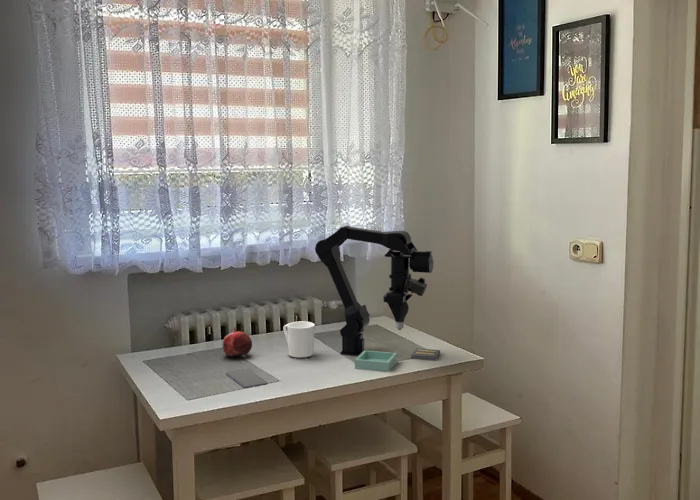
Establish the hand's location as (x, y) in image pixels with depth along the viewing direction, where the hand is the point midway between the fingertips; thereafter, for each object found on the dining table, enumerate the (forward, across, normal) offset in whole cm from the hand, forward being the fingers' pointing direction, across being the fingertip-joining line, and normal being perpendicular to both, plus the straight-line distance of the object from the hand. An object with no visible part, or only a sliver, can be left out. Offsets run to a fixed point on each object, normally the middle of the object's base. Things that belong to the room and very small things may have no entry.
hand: (399, 319), depth 235 cm
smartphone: (+13, -34, +38) cm, 53 cm away
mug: (+13, -7, +32) cm, 35 cm away
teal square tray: (+13, -10, +5) cm, 17 cm away
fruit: (+13, -14, +51) cm, 54 cm away
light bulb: (+4, 0, 0) cm, 4 cm away
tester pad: (+13, +4, -8) cm, 15 cm away
